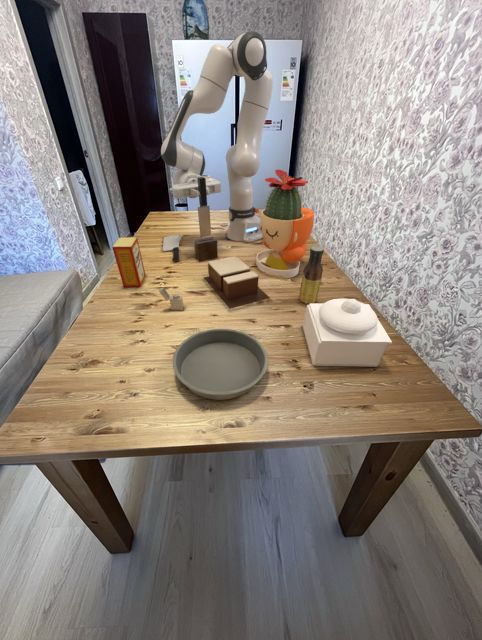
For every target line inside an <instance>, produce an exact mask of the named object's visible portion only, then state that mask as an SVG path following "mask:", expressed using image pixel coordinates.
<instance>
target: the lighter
mask: <svg viewBox="0 0 482 640" xmlns="http://www.w3.org/2000/svg"><path fill="white" fill-rule="evenodd" d="M158 292H159V293H160V295H161V297H162V298H163V299H164V300H165V301H168V300H169V305H170V310H171V311H183V310H184V309H185V307H184V299H183V296H180V295H179V294H172V296H170V294H169V293H168V291H167V290H166V289H165V287H160V288H159V289H158Z"/></svg>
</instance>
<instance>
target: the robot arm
mask: <svg viewBox="0 0 482 640" xmlns="http://www.w3.org/2000/svg"><path fill="white" fill-rule="evenodd" d="M266 44H267V43H266V41H265V39H264V37H263V36H262V35H261V34H260V33H259V32H257V31H254V30H248V31H247V32H244V33H242V34H240V35H238V36H237V38H235V39H234V40H233V41H232V42H231V43H230V44H229V45H228V46H225V45H224V44H220V43H216V44H213V45H211V47H210V48H209V51H208V52H207V55H206V57H205V60H204V62H203V65H202V69H201V71H200V74H199V78H198V81H197V84H196V85H195V86H194V88H192V89H191V90H187V92H186V93H185V95H184V96H183V98H182V100H181V102H180V104H179V107H178V108H177V111H176V114H175V116H174V118H173V121H172V122H171V126H170V128H169V130H168V133H167V135H166V136H165V139H164V140H163V142H162V144H161V148H160V156H161V158H162V160H163V162H164V164H165V165H166V166H170V167H173V168H176V169H177V170H175V171H174V173H173V174H172V175H173V176H172V181H173V185H172V186H171V187H170V188H169V189H168V190H169V192H170V193H172V196H173V197H174V198H175V199H183V198H189V199H196V198H199V196H201V194H200V191H199V190H198V179H197V178H198V177H204V178H206V193H207V196H210V195H213V194H221V192H222V183H221V181H219V180H217V179H216V178H212V176H211V175H208V174H207V175H206V174H204V172H205V169H206V157H205V154H204V153H203V151H202V150H201V149H198V148H197V147H195V146H193V145H190V144H189V143H186V142H184V141H182V140H181V137H182V134H183V132H184V130H185V127H186V125H187V123H188V120H189V119H190V117H191V116H194V115H197V114H204V115H205V114H207V115H211V114H215V113H216V112H218V111H220V109H221V108H223V104H224V102H225V99H226V96H227V94H228V90H229V87H230V83H231V81H232V79H233V78H234V77H236V78H243V79H244V93H243V97H242V101H241V106H240V111H239V115H238V119H237V120H238V121H237V123H236V128H237V131H236V142H235V143H236V144H233V145H231V146H229V148H228V149H227V151H226V153H225V162H226V171H227V178H228V186H229V207H228V219H229V221H228V224H227V225H228V231H227V234H226V238H228V239H229V240H231V241H236V242H245V243H252V242H255V241H259V240H261V239H263V237H262V233H261V230H260V220H261V217H260V216H258V215H256V214H259V212H260V209H259V208H257V207H254V206H253V199H254V197H253V195H254V188H253V185H252V177H253V176H256V174H257V173H258V171H259V169H260V166H261V165H260V164H261V160H260V153H261V144H262V136H263V131H264V127H265V125H266V119H267V116H268V113H269V108H270V104H271V100H272V95H273V94H272V93H273V88H274V87H273V86H274V77H273V75H272V74H271V72H270V71H269V70H268V60H267V45H266Z"/></svg>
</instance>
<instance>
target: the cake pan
mask: <svg viewBox="0 0 482 640" xmlns="http://www.w3.org/2000/svg"><path fill="white" fill-rule="evenodd" d="M268 367H269V357H268V352H267V351H266V349H265V347H264V346H263V344H262V343H261V342H260V341H259V340H258V339H257V338H255V337H254V336H252V335H250V334H248V333H246V332H244V331H241V330H238V329H232V328H211V329H206V330H203V331H199V332H197V333H194V334H192V335H190V336H188V337H187V338H186V339H184V340H183V341H182V342H180V344H179V345H178V346H177V347H176V349H175V351H174V354H173V357H172V369H173V373H174V374H175V377H176V378H177V379H178V381H180V382H181V383H182V384H183V385H184V386H185V387H186V388H187V389H188V390H189V391H191V392H192V393H193V394H195V395H197V396H199V397H202V398H204V399H207V400H215V401H216V400H217V401H222V400H223V401H225V400H231V399H235V398H237V397H241V396H242V395H244V394H247V393H248V392H249V391H250V390H252V389H253V388H254V386H255V385H256V384H257V383H258V382H260V380H262V378H263V377H264V376H265V374H266V372H267V370H268Z"/></svg>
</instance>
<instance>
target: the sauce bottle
mask: <svg viewBox="0 0 482 640" xmlns="http://www.w3.org/2000/svg"><path fill="white" fill-rule="evenodd" d="M324 251H325V248H324V247H323V246H320V245H313V246H311V247H310V249H309V258H308V262H307V263H306V265H305V266H304V268H303V270H302V276H301V281H300V288H299V295H298V300H299V302H300V303H301V304H303V305H309V304H310V303H317V300H318V298H319V297H318V296H319V292H320V287H321V284H322V283H321V282H322V278H323V272H324V267H323V265H322V257H323V255H324Z"/></svg>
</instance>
